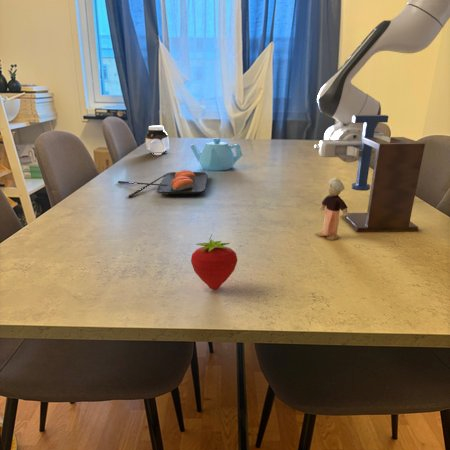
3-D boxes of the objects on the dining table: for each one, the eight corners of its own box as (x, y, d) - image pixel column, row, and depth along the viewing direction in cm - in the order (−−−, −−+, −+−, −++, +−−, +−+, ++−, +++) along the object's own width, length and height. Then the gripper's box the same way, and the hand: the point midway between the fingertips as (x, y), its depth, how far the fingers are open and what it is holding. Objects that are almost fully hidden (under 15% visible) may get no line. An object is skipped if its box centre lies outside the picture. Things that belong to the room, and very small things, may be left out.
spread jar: (162, 150, 206) (160, 124, 201) (176, 153, 199) (174, 126, 193) (140, 153, 199) (138, 126, 194) (153, 156, 192) (151, 128, 186)
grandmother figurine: (310, 235, 96) (315, 177, 91) (320, 231, 99) (326, 174, 93) (340, 243, 92) (347, 183, 86) (350, 239, 94) (358, 180, 88)
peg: (372, 186, 114) (383, 114, 106) (378, 190, 110) (390, 116, 102) (342, 186, 114) (351, 114, 106) (347, 190, 110) (357, 116, 102)
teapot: (211, 173, 158) (211, 142, 153) (189, 167, 169) (188, 138, 164) (244, 168, 166) (244, 138, 161) (221, 162, 177) (221, 135, 172)
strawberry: (238, 297, 70) (238, 238, 65) (191, 298, 69) (188, 239, 65) (236, 281, 75) (236, 226, 70) (192, 282, 75) (190, 227, 70)
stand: (396, 215, 109) (411, 136, 100) (417, 231, 99) (435, 143, 90) (342, 216, 109) (351, 137, 100) (357, 232, 98) (369, 144, 89)
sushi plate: (205, 198, 126) (204, 185, 124) (102, 199, 126) (100, 185, 124) (208, 177, 152) (207, 166, 150) (122, 177, 152) (121, 166, 150)
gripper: (313, 133, 117) (326, 140, 105) (387, 132, 118) (409, 138, 106) (311, 157, 120) (324, 166, 108) (384, 156, 121) (404, 165, 109)
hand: (366, 152), depth 107 cm, fingers closed on peg, 2 cm apart
